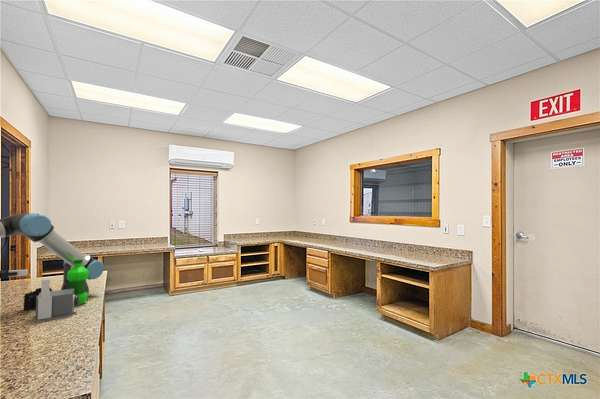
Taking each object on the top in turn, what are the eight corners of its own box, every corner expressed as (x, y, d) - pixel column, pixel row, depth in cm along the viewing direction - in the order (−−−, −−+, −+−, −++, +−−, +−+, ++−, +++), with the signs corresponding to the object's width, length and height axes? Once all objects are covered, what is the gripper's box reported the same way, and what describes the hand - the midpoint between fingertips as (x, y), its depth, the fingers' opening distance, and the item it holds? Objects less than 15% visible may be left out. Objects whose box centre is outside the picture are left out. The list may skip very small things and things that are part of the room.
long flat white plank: (38, 319, 146) (39, 280, 146) (51, 317, 148) (52, 278, 149) (37, 319, 145) (38, 280, 146) (51, 317, 148) (52, 279, 148)
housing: (39, 314, 156) (40, 292, 156) (79, 308, 165) (79, 287, 165) (34, 322, 144) (35, 298, 145) (77, 315, 153) (77, 293, 154)
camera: (37, 312, 159) (37, 292, 159) (20, 311, 161) (21, 291, 161) (62, 304, 172) (62, 286, 173) (47, 303, 174) (47, 285, 175)
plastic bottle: (88, 300, 179) (88, 257, 180) (88, 304, 171) (89, 260, 172) (66, 303, 174) (67, 259, 174) (65, 308, 165) (66, 262, 166)
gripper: (-41, 283, 136) (29, 278, 149) (-53, 289, 125) (23, 283, 138) (-40, 266, 136) (30, 262, 149) (-52, 271, 126) (24, 266, 138)
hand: (27, 272), depth 144 cm, fingers closed
